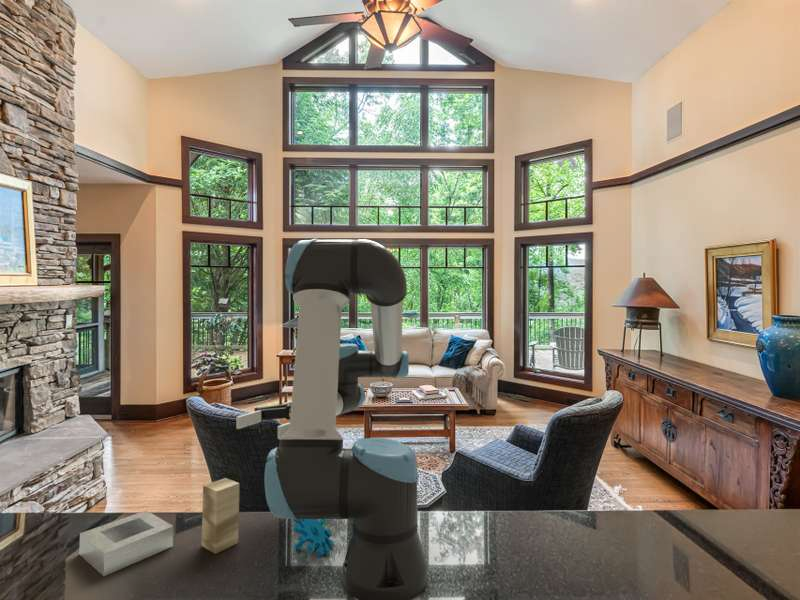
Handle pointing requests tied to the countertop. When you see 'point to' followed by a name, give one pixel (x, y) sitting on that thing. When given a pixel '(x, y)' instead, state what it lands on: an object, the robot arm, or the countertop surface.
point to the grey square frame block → (125, 542)
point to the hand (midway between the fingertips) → (257, 427)
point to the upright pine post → (220, 515)
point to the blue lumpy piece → (313, 535)
